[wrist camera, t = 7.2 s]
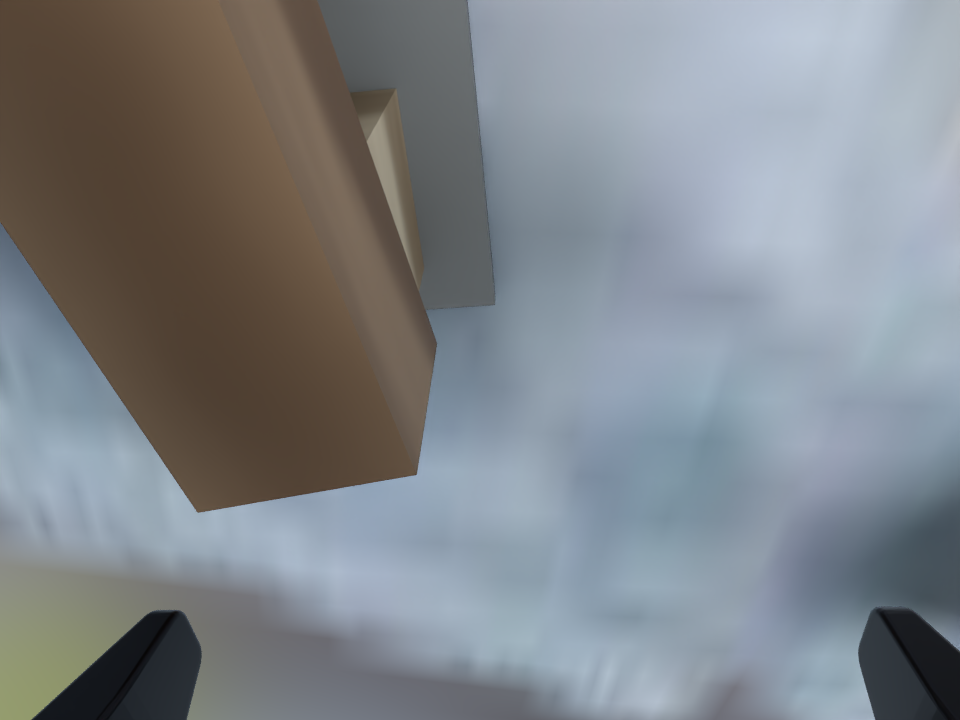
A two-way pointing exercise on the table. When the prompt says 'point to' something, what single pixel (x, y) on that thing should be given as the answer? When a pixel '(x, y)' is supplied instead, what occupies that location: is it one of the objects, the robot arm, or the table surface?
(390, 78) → the mat
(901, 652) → the robot arm
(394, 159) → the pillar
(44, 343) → the table surface
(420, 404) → the lintel
